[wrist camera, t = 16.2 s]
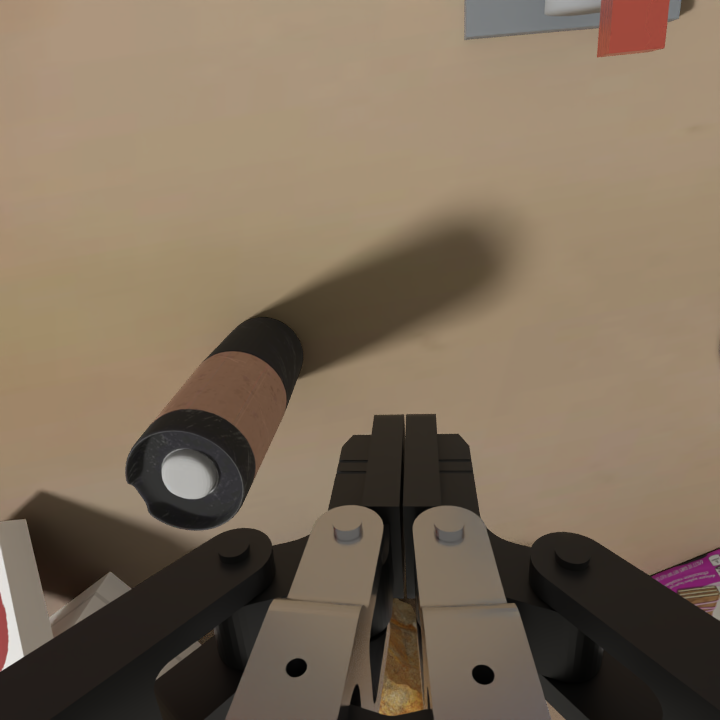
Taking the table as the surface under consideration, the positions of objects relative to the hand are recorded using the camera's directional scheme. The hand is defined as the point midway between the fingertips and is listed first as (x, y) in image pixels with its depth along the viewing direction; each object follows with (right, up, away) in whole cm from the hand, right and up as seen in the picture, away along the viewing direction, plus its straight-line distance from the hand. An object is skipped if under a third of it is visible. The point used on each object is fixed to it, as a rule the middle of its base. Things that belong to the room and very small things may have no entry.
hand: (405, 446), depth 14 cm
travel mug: (-10, +3, +38) cm, 40 cm away
